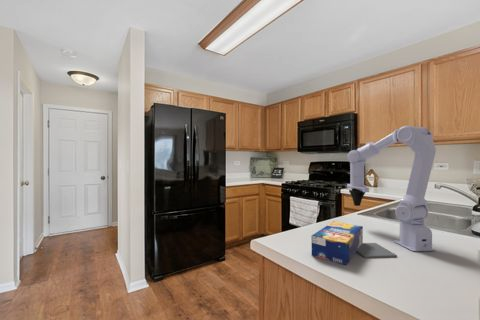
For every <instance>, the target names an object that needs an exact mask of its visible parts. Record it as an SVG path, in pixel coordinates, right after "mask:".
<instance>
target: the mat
mask: <svg viewBox="0 0 480 320" xmlns="http://www.w3.org/2000/svg"><path fill="white" fill-rule="evenodd" d="M356 253H357V254H358V255H360V256H362V258H364V259H375V258H376V259H378V258H380V259H381V258H397V257H398V255H397V254H396V253H394V252H392V251H390V250H389V249H387V248H385V247H383V246H382V245H380V244H378V243H377V242H363V243H362V244H361V245H360V246H359V248H358V249H357V250H356Z"/></svg>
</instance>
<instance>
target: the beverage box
mask: <svg viewBox="0 0 480 320" xmlns="http://www.w3.org/2000/svg"><path fill="white" fill-rule="evenodd" d="M363 235H364V226H363V225H356V224H351V223H344V222H341V221H339V222H338V221H331V223H329V224H327V225H326V226H324V227H322V228H321V229H320V230H318V231H317V232H315V233H313V234H312V235H311V257H315V258H318V259H322V260H326V261H330V262H333V263H336V264H340V265H344V266H347V265H348V263H349V262H350V261H351V259H352V258H353V257H354V256H355V255H356V253H357V252H356V250H357V249H358V248H359V246H360V245H361V244H362V243H364V241H363V239H364V236H363Z"/></svg>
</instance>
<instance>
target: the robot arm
mask: <svg viewBox="0 0 480 320" xmlns="http://www.w3.org/2000/svg"><path fill="white" fill-rule="evenodd" d="M396 143H401V144H403V145H405V146H407V147H408V148H410V149H411V151H413V153H414V157H413V161H412V166H411V170H410V175H409V178H408V183H407V188H406V192H405V195H404V196H403V197H402V198H401V199H400V202H399V204H398V205H397V206H396V207H395V212H394V213H395V217H396V218H398V222H399V239H398V240H397V239H394V240H393V242H394V243H396V244H397V245H400V246H402V247H403V248H406V249H408V250H410V251H412V252H432V251H433V252H434V251H435V249H434V248H433V231H432V230H431V229H430V227H428V226H427V225H426V224H425V219H426V218H427V217H428V215H429V209H428V201H427V200H426V199H425V197H426V192H427V188H428V184H429V180H430V176H431V172H432V169H433V168H432V167H433V164H434V160H435V157H436V151H437V147H436V145H435V143H434V140H433V132H432V131H430V130H429V129H428V128H427V127H423V126H411V125H404V126H401V127H399V128H396V129H395V130H394V131H393V132H391V133H390V134H388V135H387V136H385V137H383V138H381V139H380V140H378V141H376V142H373V141H369V142H368V141H367V142H366V143H365V145H363V146H362V147H361V146H360V147H357V149H353V150H350V151H349V152H348V154H347V161H348V163H349V167H350V168H349V169H350V170H349V173H350V175H349V176H350V178H349V179H350V181H349V182H350V183H347V184H346V186H347V187H346V189H349V190H348V192H349V194H350V195H351V199H352V202H353V205H354V206H356V207H359V206H361V204H362V201H363V198H364V196H365V194H366V193H369V192H370V191H369V189H370V188H369V187H367V185H365V166H366V161H367V160H368V159H370V158H372V157H374V156H376V155H379V153H380V151H381V150H383V149H386V148H387V147H388V148H389V146H392V145H394V144H395V145H396Z"/></svg>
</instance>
